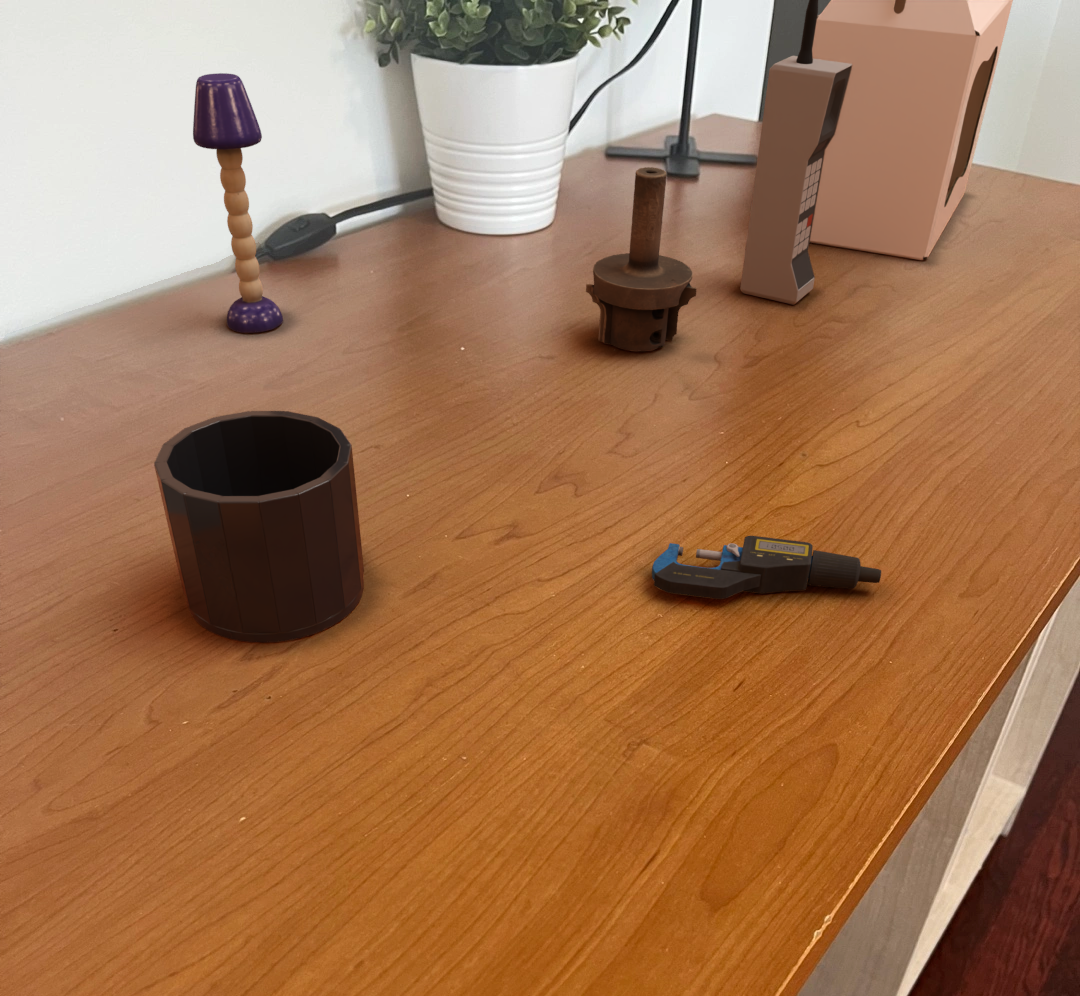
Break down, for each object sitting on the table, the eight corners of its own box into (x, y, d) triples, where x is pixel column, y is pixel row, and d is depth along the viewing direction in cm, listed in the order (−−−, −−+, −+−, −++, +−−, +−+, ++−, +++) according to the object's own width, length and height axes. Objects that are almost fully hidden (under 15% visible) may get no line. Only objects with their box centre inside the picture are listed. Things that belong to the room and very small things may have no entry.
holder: (150, 618, 58) (115, 479, 52) (246, 530, 64) (223, 398, 59) (310, 660, 55) (289, 518, 50) (393, 564, 62) (382, 429, 57)
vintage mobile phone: (795, 306, 91) (858, -69, 75) (739, 293, 93) (788, -76, 77) (812, 292, 94) (877, -75, 77) (757, 279, 96) (808, -81, 79)
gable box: (925, 262, 99) (1020, -135, 81) (779, 239, 103) (838, -145, 85) (964, 194, 115) (1051, -153, 96) (836, 176, 119) (896, -161, 100)
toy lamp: (212, 320, 87) (169, 75, 76) (262, 304, 89) (228, 65, 78) (247, 338, 84) (209, 88, 73) (299, 322, 87) (269, 77, 76)
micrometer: (649, 569, 59) (663, 521, 62) (646, 599, 60) (661, 550, 64) (883, 600, 57) (883, 548, 60) (875, 630, 58) (877, 577, 62)
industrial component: (573, 351, 84) (580, 178, 76) (600, 316, 89) (609, 151, 81) (697, 371, 82) (718, 195, 74) (718, 333, 87) (739, 165, 79)
